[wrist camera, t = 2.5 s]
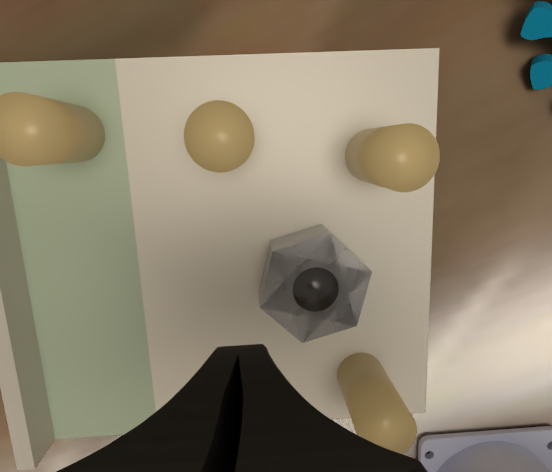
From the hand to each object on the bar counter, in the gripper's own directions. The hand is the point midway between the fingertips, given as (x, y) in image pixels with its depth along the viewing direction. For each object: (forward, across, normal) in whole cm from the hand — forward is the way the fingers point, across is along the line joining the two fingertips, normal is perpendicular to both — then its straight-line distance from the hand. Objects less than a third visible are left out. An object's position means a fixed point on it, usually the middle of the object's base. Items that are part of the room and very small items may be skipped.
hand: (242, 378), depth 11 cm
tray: (+10, +1, -1) cm, 10 cm away
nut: (+9, -3, 0) cm, 9 cm away
